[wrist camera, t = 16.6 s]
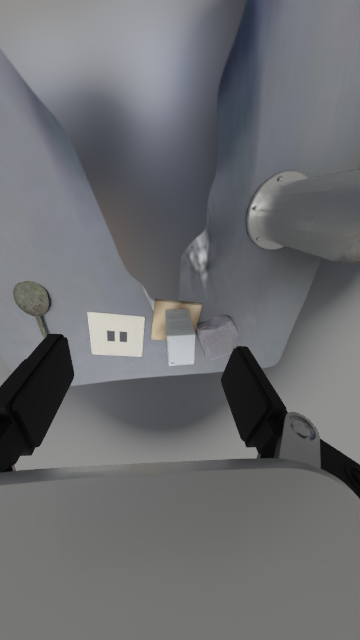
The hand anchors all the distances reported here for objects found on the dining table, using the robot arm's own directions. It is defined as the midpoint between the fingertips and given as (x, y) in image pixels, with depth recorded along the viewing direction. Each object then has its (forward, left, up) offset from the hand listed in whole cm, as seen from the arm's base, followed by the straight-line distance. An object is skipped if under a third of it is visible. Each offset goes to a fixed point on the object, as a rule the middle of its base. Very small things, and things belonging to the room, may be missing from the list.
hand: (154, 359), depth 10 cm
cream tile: (+8, +22, -30) cm, 38 cm away
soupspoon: (+24, +20, -31) cm, 44 cm away
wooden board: (-6, +16, -30) cm, 35 cm away
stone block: (-18, +19, -31) cm, 41 cm away
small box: (-6, +16, -30) cm, 34 cm away
